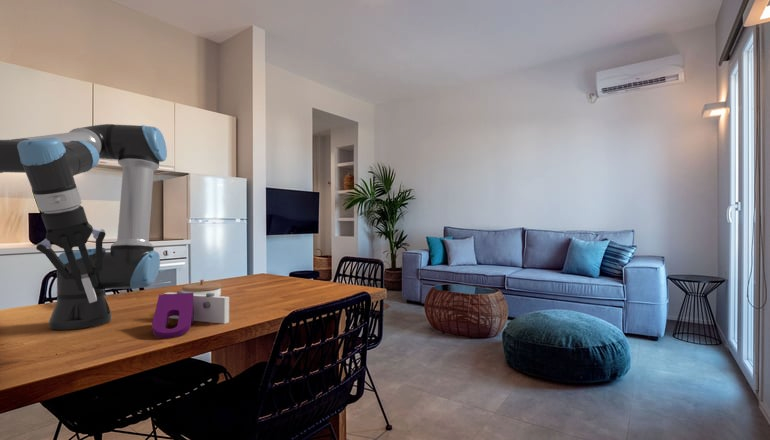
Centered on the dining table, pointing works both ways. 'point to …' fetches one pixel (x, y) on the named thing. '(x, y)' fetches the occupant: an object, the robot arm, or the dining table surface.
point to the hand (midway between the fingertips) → (93, 299)
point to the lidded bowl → (203, 288)
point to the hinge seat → (209, 308)
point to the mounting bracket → (173, 306)
